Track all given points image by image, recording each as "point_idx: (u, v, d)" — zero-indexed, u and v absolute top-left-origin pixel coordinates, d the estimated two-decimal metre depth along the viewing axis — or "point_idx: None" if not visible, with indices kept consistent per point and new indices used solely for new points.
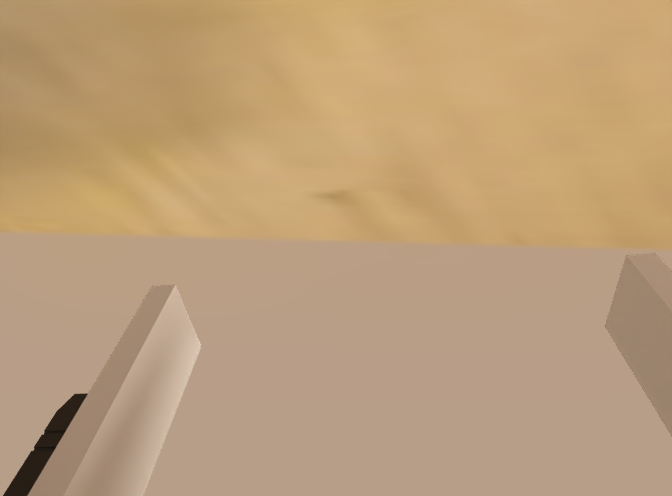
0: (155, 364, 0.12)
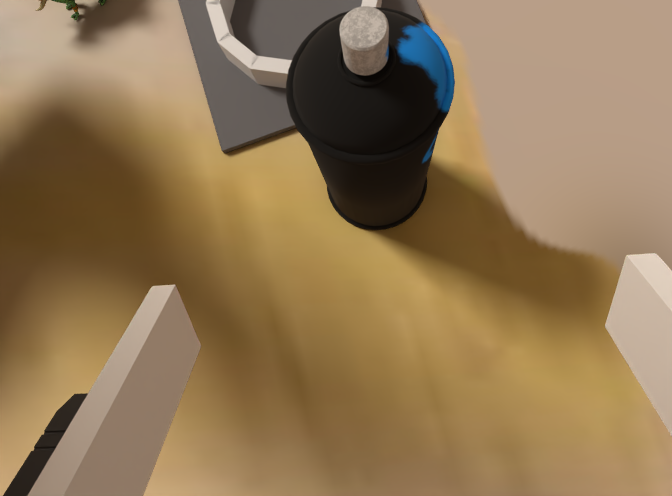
0: (155, 364, 0.12)
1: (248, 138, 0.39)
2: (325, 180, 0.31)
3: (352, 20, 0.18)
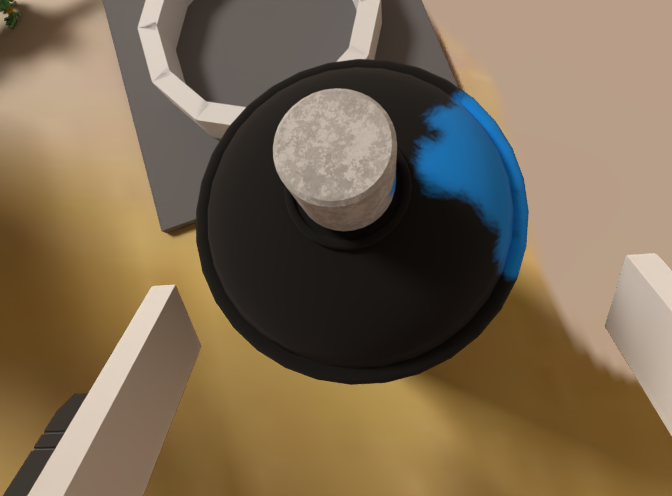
0: (155, 364, 0.12)
1: None
2: None
3: (305, 126, 0.07)
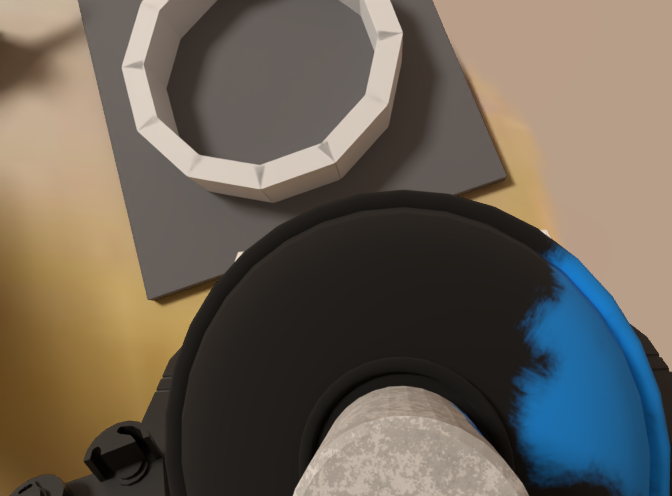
0: None
1: (189, 280, 0.24)
2: None
3: None
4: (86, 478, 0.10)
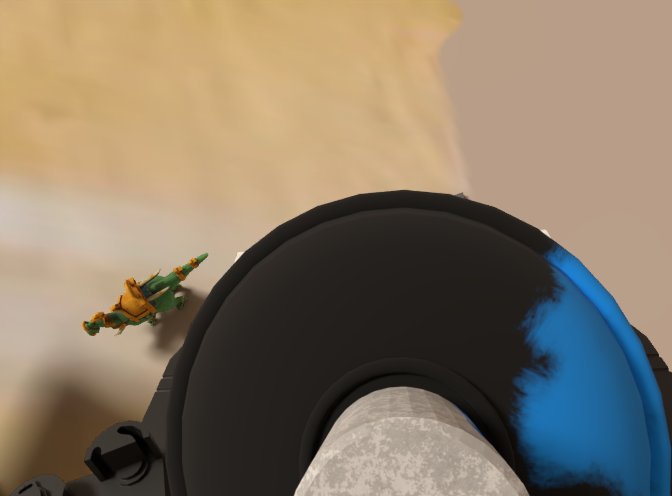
0: None
1: None
2: None
3: None
4: (86, 478, 0.10)
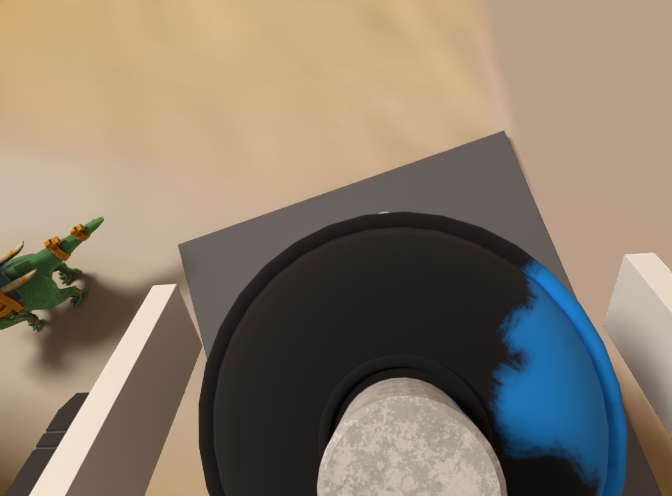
0: (157, 363, 0.12)
1: None
2: None
3: (366, 460, 0.05)
4: None
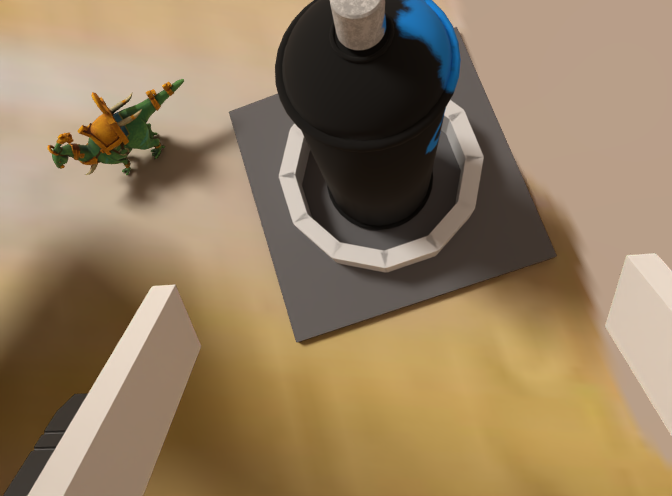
0: (155, 364, 0.12)
1: (326, 328, 0.34)
2: (323, 175, 0.29)
3: None
4: None
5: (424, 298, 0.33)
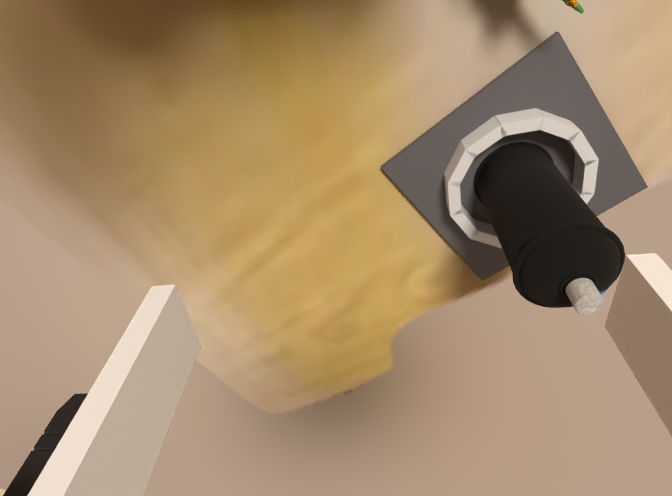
0: (155, 364, 0.12)
1: (397, 183, 0.49)
2: (504, 188, 0.41)
3: (594, 299, 0.31)
4: None
5: (436, 228, 0.52)
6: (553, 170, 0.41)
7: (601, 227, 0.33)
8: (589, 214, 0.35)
